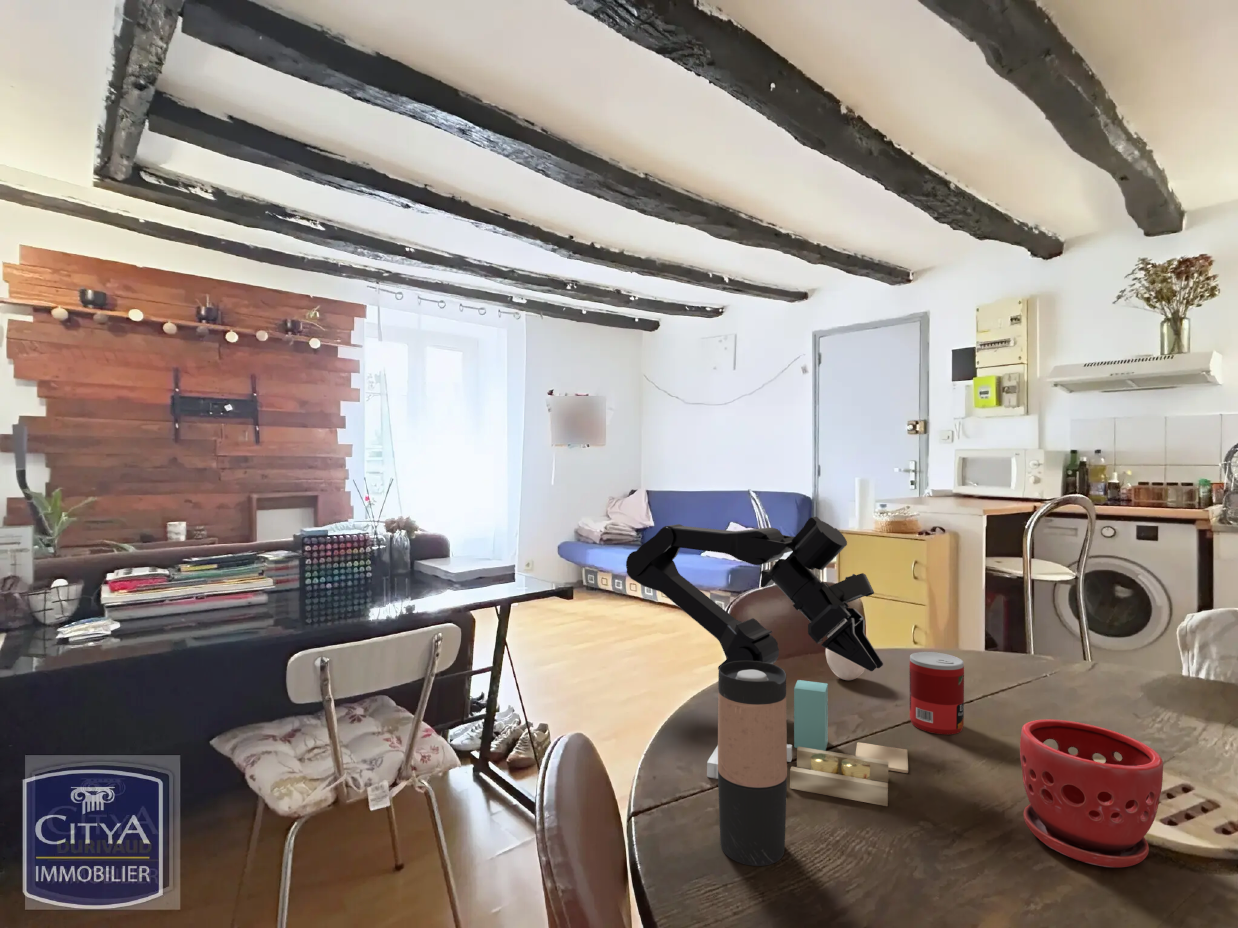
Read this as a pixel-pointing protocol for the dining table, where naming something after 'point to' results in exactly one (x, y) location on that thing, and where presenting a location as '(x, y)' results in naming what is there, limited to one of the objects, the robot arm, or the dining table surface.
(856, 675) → the egg
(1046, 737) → the plant pot
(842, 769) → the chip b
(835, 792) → the slot rails
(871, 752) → the cork pad
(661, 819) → the dining table surface
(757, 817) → the travel mug
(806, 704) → the block
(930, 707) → the canned food
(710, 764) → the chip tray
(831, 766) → the gold rounded lump
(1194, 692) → the dining table surface
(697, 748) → the dining table surface
